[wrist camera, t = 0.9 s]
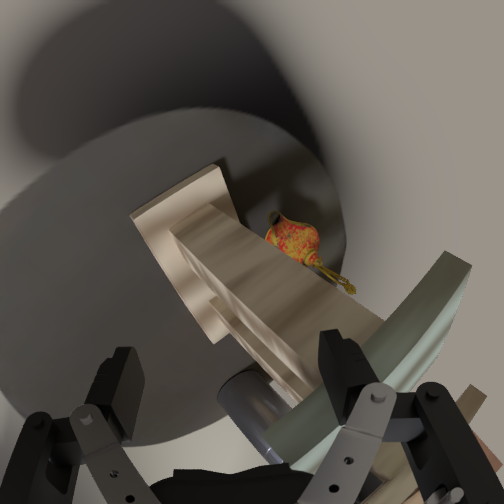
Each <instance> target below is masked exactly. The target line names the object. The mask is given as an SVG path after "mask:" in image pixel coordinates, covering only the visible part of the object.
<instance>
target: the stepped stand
mask: <svg viewBox="0 0 504 504" xmlns="http://www.w3.org/2000/svg"><path fill="white" fill-rule="evenodd" d="M130 217H131V218H132V220H133V222H134V223H135V225H136V227H137V228H138V230H139V232H140V234H141V235H142V237H143V239H144V240H145V242H146V243H147V245H148V247H149V248H150V250H151V252H152V253H153V255H154V257H155V258H156V260H157V261H158V263H159V265H160V266H161V268H162V269H163V271H164V272H165V274H166V276H167V277H168V279H169V280H170V282H171V283H172V285H173V286H174V288H175V289H176V291H177V293H178V294H179V296H180V297H181V299H182V300H183V302H184V303H185V305H186V306H187V308H188V309H189V311H190V312H191V313H192V315H193V316H194V318H195V319H196V321H197V322H198V324H199V325H200V327H201V328H202V329H203V331H204V332H205V334H206V335H207V337H208V338H209V339H210V340H211V342H212V343H213V344H215V343H216V342H218V341H219V340H220V339H222V338H223V337H224V336H226V335H227V334H228V333H231V334H232V335H233V337H234V338H235V339H236V340H237V341H238V342H239V343H240V344H241V345H242V346H243V347H244V349H245V350H246V351H247V352H248V353H249V354H250V355H251V356H252V357H253V358H254V359H255V360H256V361H257V362H258V363H259V364H260V366H261V367H262V368H263V369H264V370H265V371H266V372H267V373H268V374H269V375H270V376H271V377H272V378H273V379H274V380H275V381H276V382H277V383H278V384H279V385H280V386H281V387H282V388H283V389H284V390H285V391H286V392H287V393H288V394H289V395H290V396H291V397H292V398H293V399H294V400H295V401H296V402H297V403H298V405H297V406H295V407H294V408H293V409H292V410H291V411H289V412H288V413H287V414H286V415H284V416H283V417H282V418H281V419H280V420H278V421H277V422H276V423H274V424H273V425H272V426H271V427H269V428H268V429H267V430H265V431H264V432H263V433H262V434H260V435H261V437H262V438H263V439H264V440H265V441H266V442H267V443H268V445H269V446H270V447H271V448H272V449H273V450H274V451H275V452H276V453H277V455H278V456H279V457H280V458H281V459H282V460H283V461H284V462H285V463H288V462H289V466H290V468H291V469H292V470H299V471H304V472H308V473H311V474H314V475H315V473H316V471H317V470H318V468H319V466H320V465H321V463H322V461H323V459H324V458H325V456H326V454H327V452H328V451H329V449H330V447H331V445H332V443H333V442H334V440H335V438H336V436H337V434H338V432H339V431H340V429H341V427H342V426H339V423H338V420H337V417H336V415H335V412H334V409H333V406H332V404H331V401H330V398H329V396H328V393H327V390H326V387H325V385H324V382H323V379H322V377H321V374H320V371H319V367H318V347H319V334H320V331H324V330H331V329H338V330H339V332H340V334H341V336H342V338H343V339H347V338H351V339H352V340H353V341H355V342H356V343H357V344H359V346H360V348H361V350H362V351H363V354H364V355H365V357H366V358H367V360H368V362H369V364H370V365H371V367H372V369H373V371H374V372H375V374H376V376H377V378H378V379H379V381H380V383H384V384H387V385H389V386H391V387H392V388H393V389H394V390H395V392H410V391H411V389H412V388H413V387H414V386H415V385H416V383H417V382H418V381H419V380H420V378H421V377H422V376H423V375H424V373H425V372H426V371H427V370H428V368H429V367H430V366H431V365H432V363H433V362H434V361H435V359H436V358H437V356H438V354H439V352H440V350H441V348H442V345H443V343H444V341H445V339H446V336H447V334H448V332H449V329H450V327H451V324H452V322H453V319H454V317H455V314H456V312H457V309H458V306H459V304H460V301H461V298H462V295H463V293H464V289H465V287H466V284H467V281H468V278H469V275H470V271H471V268H472V265H471V264H469V263H467V262H465V261H463V260H462V259H460V258H458V257H456V256H454V255H452V254H451V253H449V252H447V251H444V252H443V254H442V255H441V256H440V257H439V259H438V260H437V261H436V263H435V264H434V265H433V266H432V267H431V269H430V270H429V271H428V273H427V274H426V275H425V276H424V277H423V279H422V280H421V281H420V282H419V283H418V285H417V286H416V287H415V288H414V289H413V291H412V292H411V293H410V294H409V295H408V296H407V298H406V299H405V300H404V301H403V302H402V303H401V304H400V305H399V307H398V308H397V309H396V310H395V311H394V312H393V313H392V314H391V315H390V317H389V318H388V319H387V320H386V321H384V320H383V319H381V318H380V317H378V316H377V315H375V314H374V313H372V312H371V311H369V310H368V309H367V308H365V307H364V306H362V305H361V304H359V303H358V302H356V301H355V300H353V299H352V298H350V297H349V296H348V295H346V294H345V293H343V292H342V291H340V290H339V289H337V288H336V287H334V286H333V285H331V284H330V283H328V282H327V281H325V280H324V279H323V278H321V277H320V276H318V275H317V274H315V273H314V272H312V271H311V270H309V269H308V268H306V267H305V266H303V265H302V264H300V263H299V262H297V261H296V260H294V259H293V258H291V257H290V256H288V255H287V254H285V253H284V252H282V251H281V250H279V249H278V248H276V247H275V246H273V245H272V244H270V243H269V242H267V241H266V240H264V239H263V238H261V237H260V236H258V235H257V234H255V233H254V232H252V231H251V230H249V229H248V228H246V227H245V226H243V225H242V224H240V221H239V219H238V216H237V213H236V211H235V208H234V205H233V203H232V200H231V197H230V194H229V192H228V189H227V186H226V184H225V181H224V178H223V176H222V173H221V170H220V167H219V166H216V165H214V164H211V165H209V166H207V167H206V168H204V169H202V170H200V171H199V172H197V173H195V174H194V175H192V176H190V177H188V178H187V179H185V180H183V181H182V182H180V183H178V184H177V185H175V186H174V187H172V188H170V189H169V190H167V191H165V192H164V193H162V194H161V195H159V196H157V197H156V198H154V199H153V200H151V201H150V202H148V203H146V204H145V205H143V206H142V207H140V208H139V209H137V210H136V211H134V212H133V213H131V214H130ZM486 397H487V396H486V395H485V394H483V393H482V392H481V391H479V390H478V389H477V388H475V387H474V386H472V385H471V384H470V385H469V387H468V388H467V389H466V390H465V391H464V393H463V394H462V395H461V396H460V398H459V399H458V400H457V401H456V402H455V403H456V405H457V406H458V408H459V410H460V411H461V413H462V415H463V416H464V418H465V420H466V421H467V423H468V424H469V423H470V422H471V420H472V419H473V417H474V416H475V414H476V413H477V411H478V409H479V408H480V406H481V405H482V403H483V402H484V400H485V399H486ZM344 426H345V425H343V427H344ZM370 471H371V472H372V473H373V474H374V475H375V476H376V477H378V478H379V479H380V480H381V481H382V482H383V483H382V484H381V485H380V486H379V487H378V488H377V489H376V490H375V491H374V492H373V493H371V494H370V495H369V496H368V497H367V498H366V499H365V500H364V501H362V502H361V503H360V504H401V503H402V502H403V501H404V500H405V499H406V498H407V497H408V496H409V495H410V494H411V493H412V492H413V491H414V490H415V489H416V488H417V487H418V485H417V483H416V480H415V477H414V475H413V472H412V470H411V467H410V465H409V462H408V460H407V457H406V455H405V452H404V450H403V447H402V445H401V442H381V444H380V447H379V449H378V451H377V454H376V456H375V459H374V461H373V463H372V466H371V468H370Z"/></svg>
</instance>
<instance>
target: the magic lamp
mask: <svg viewBox="0 0 504 504" xmlns="http://www.w3.org/2000/svg"><path fill="white" fill-rule="evenodd" d="M268 223H269V225H270V226H271V228H270V229H269V230H268V232H267V234H266V237H265V240H266V241H267V242H269V243H270V244H272V245H273V246H275V247H276V248H278V249H279V250H281V251H282V252H284V253H285V254H287V255H288V256H290V257H291V258H293V259H294V260H296V261H297V262H299V263H300V264H302V265H303V266H305V267H306V268H307V267H308V266H310V265H313V268H315V267H317V268H318V269H319V270H321V271H322V272H323V273H324V274H326V275H327V276H328V277H329V278H331V279H332V280H333V281H335V282H336V283H338V284H340V285H343V286H344V288H345V290H346V292H347V293H348V294H356V289H355V287H354V286H353V285H351V284H350V283H349V281H348V279H347V280H346V279H345V278H344V277H342V276H340V275H338V274H336V273H334V272H332V271H331V270H329V269H327V268H326V267H324V266H322V261H321V259H322V258H321V257H320V258H318V253H317V251H318V248H319V235H318V232H317V231H316V229H315V228H314V227H313V226H312V225H310V224H307V223H301V222H295V221H291V220H288V219H286V218H285V217H284V216H283V215H282V214H281V213H280V212H278V211H276V210H274V211H271V212H269V214H268ZM325 269H326V270H325ZM328 270H329V271H328ZM327 271H328V272H327ZM330 271H331V272H330ZM329 272H330V273H329ZM328 273H329V274H331V275H332V274H333V275H332V276H334V277H336V278H339V279H340V277H341V279H340V280H342V279H343V278H344V279H343V280H342V281H343V282H346V283H347V284H344V283H341V282H339V281H337V280H336V279H334V278H333V277H332V276H330V275H329V274H328ZM334 274H335V275H334ZM337 275H338V277H337ZM345 280H346V281H345Z"/></svg>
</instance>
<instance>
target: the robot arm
mask: <svg viewBox="0 0 504 504" xmlns="http://www.w3.org/2000/svg"><path fill="white" fill-rule="evenodd" d="M318 367H319V371H320V374H321V377H322V379H323V382H324V385H325V387H326V390H327V393H328V396H329V398H330V401H331V404H332V406H333V409H334V412H335V415H336V417H337V420H338V423H339V426H342V427H341V429H340V431H339V432H338V434H337V436H336V438H335V440H334V442H333V443H332V445H331V447H330V449H329V451H328V452H327V454H326V456H325V458H324V459H323V461H322V463H321V465H320V466H319V468H318V470H317V471H316V473H315V475H314V474H311V473H308V472H304V471H299V470H292V469H291V468H290V466H289V462H288V463H285V462H284V461H283V460H282V459H281V458H280V457H279V456H278V455H277V453H276V452H275V451H274V450H273V449H272V448H271V447H270V446H269V445H268V443H267V442H266V441H265V440H264V439H263V438H262V437H261V435H260V434H262V433H263V432H264V431H265V430H267V429H268V428H269V427H271V426H272V425H273V424H274V423H276V422H277V421H278V420H280V419H281V418H282V417H283V416H284V415H286V414H287V413H288V412H289V411H291V410H292V408H291V407H290V406H289V405H288V404H287V403H286V402H285V401H284V400H283V399H282V398H281V396H280V395H279V394H278V393H277V392H276V391H275V390H274V389H273V388H272V387H271V386H270V385H269V384H268V383H267V382H266V381H265V379H264V378H263V377H262V376H261V375H260V374H259V373H258V372H256V371H253V370H250V371H245V372H242V373H240V374H238V375H236V376H235V377H233V378H232V379H230V380H229V381H228V382H227V383H226V384H225V385H224V386H223V387H222V389H221V390H220V392H219V394H218V402H219V404H220V405H221V406H222V408H223V409H224V410H225V411H226V413H227V414H228V415H229V416H230V418H231V419H232V420H233V422H234V423H235V424H236V425H237V427H238V428H239V429H240V430H241V431H242V433H243V434H244V435H245V436H246V438H247V439H248V440H249V441H250V442H251V443H252V445H253V446H254V447H255V448H256V449H257V451H258V452H259V453H260V454H261V455H262V456H263V457H264V459H265V460H266V461H267V462H268V463H269V464H270V465H264V466H258V467H255V468H252V469H249V470H245V471H242V472H239V473H235V474H224V473H218V472H213V471H207V470H202V469H191V470H190V469H188V470H187V469H182V470H181V469H174V471H173V477H169V478H166V479H163V480H160V481H158V482H156V483H154V484H152V485H151V486H150V487H149V486H148V485H147V484H146V482H145V481H144V480H143V478H142V477H141V475H140V474H139V472H138V471H137V469H136V468H135V466H134V465H133V463H132V462H131V460H130V459H129V458H128V456H127V454H126V453H125V451H124V450H123V448H122V446H121V443H122V441H127V442H131V440H132V435H133V431H134V426H135V422H136V418H137V413H138V409H139V405H140V401H141V397H142V393H143V389H144V384H145V378H144V373H143V370H142V367H141V364H140V361H139V358H138V355H137V352H136V349H135V348H134V347H117V348H116V350H115V352H114V355H113V357H112V358H107V359H106V360H105V361H104V362H103V363H102V364H101V365H100V367H99V369H98V372H97V375H96V376H95V379H94V382H93V383H92V386H91V388H90V390H89V393H88V395H87V398H86V400H85V403H84V404H83V405H80V406H78V407H76V408H75V409H74V410H73V411H72V412H71V414H70V417H67V418H61V419H54V420H53V419H52V418H51V416H50V415H49V414H48V413H46V412H35V413H33V414H31V415H30V416H29V417H28V418H27V419H26V421H25V423H24V425H23V428H22V430H21V433H20V435H19V437H18V440H17V442H16V445H15V448H14V450H13V453H12V456H11V458H10V461H9V463H8V466H7V469H6V472H5V475H4V478H3V481H2V484H1V487H0V504H72V500H73V495H74V490H75V485H76V480H77V476H78V471H79V467H80V465H82V464H86V465H87V467H88V469H89V471H90V473H91V475H92V477H93V479H94V481H95V482H96V484H97V486H98V488H99V490H100V492H101V493H102V495H103V497H104V499H105V500H106V502H107V504H360V503H361V502H362V501H364V500H365V499H366V498H367V497H368V496H369V495H370V494H371V493H373V492H374V491H375V490H376V489H377V488H378V487H379V486H380V485H381V484H382V483H383V482H382V481H381V480H380V479H379V478H378V477H376V476H375V475H374V474H373V473H372V472H371V471H370V468H371V466H372V463H373V461H374V459H375V456H376V454H377V451H378V449H379V447H380V444H381V442H401V445H402V447H403V450H404V452H405V455H406V457H407V460H408V462H409V465H410V467H411V470H412V472H413V475H414V477H415V480H416V483H417V485H418V488H419V491H420V493H421V496H422V499H423V502H424V503H423V504H504V489H503V487H502V485H501V483H500V481H499V479H498V477H497V475H496V473H495V471H494V469H493V467H492V465H491V464H490V462H489V460H488V458H487V456H486V454H485V453H484V451H483V449H482V447H481V445H480V444H479V442H478V440H477V438H476V437H475V435H474V433H473V431H472V430H471V428H470V426H469V425H468V423H467V421H466V420H465V418H464V416H463V415H462V413H461V411H460V410H459V408H458V406H457V405H456V403H455V402H454V400H453V398H452V397H451V395H450V394H449V392H448V390H447V389H446V388H445V387H444V386H443V385H441V384H439V383H436V382H426V383H423V384H421V385H420V386H419V387H418V389H417V391H416V392H395V390H394V389H393V388H392V387H391V386H389V385H387V384H384V383H380V381H379V379H378V378H377V376H376V374H375V372H374V371H373V369H372V367H371V365H370V364H369V362H368V360H367V358H366V357H365V355H364V354H363V351H362V350H361V348H360V346H359V344H357V343H356V342H355V341H353V340H352V339H351V338H347V339H343V338H342V336H341V334H340V332H339V330H338V329H331V330H324V331H320V334H319V347H318ZM343 425H345V426H344V427H343Z"/></svg>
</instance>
